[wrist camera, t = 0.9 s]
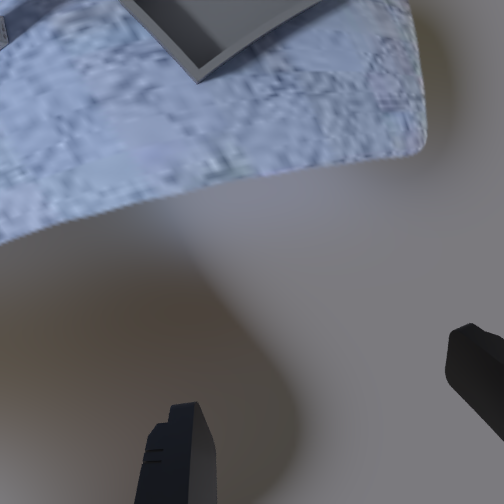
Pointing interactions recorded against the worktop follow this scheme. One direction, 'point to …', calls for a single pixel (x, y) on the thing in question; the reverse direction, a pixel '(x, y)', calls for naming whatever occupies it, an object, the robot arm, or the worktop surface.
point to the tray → (211, 27)
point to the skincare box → (3, 33)
